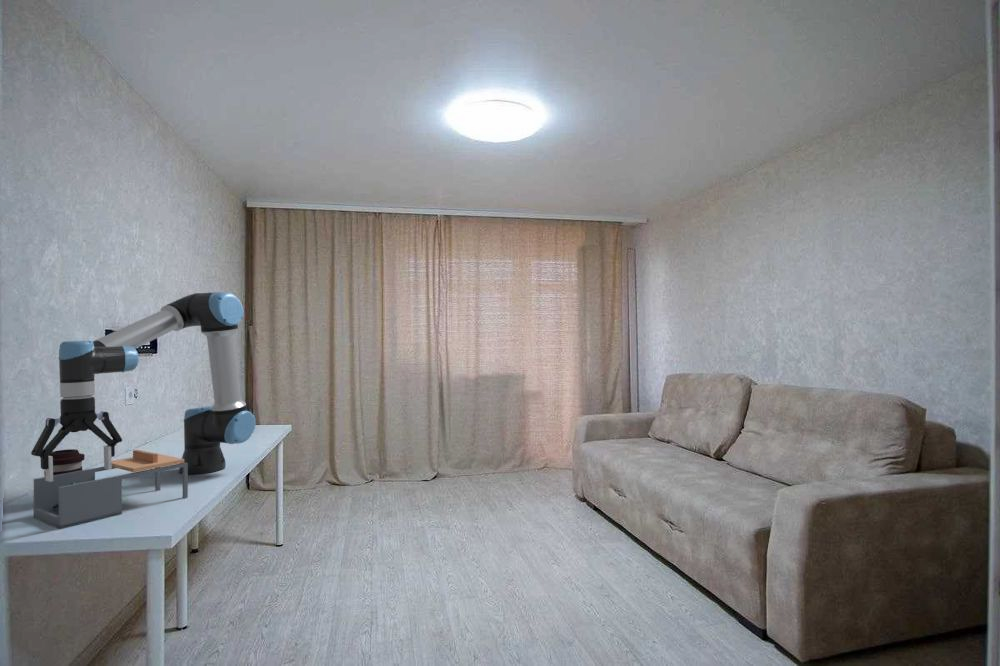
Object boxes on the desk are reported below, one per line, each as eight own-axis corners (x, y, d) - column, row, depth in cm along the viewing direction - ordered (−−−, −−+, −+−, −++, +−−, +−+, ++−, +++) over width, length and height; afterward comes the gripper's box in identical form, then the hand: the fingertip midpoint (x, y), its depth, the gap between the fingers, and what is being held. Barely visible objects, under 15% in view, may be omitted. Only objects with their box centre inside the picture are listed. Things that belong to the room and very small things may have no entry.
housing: (158, 489, 176) (158, 456, 176) (187, 497, 167) (187, 462, 167) (33, 517, 149) (33, 479, 149) (60, 529, 140) (60, 487, 140)
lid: (155, 456, 175) (155, 445, 175) (184, 462, 166) (184, 450, 166) (105, 465, 163) (105, 453, 163) (133, 472, 154) (133, 459, 154)
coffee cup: (42, 501, 164) (42, 450, 164) (84, 495, 170) (84, 446, 170) (40, 509, 156) (40, 456, 156) (84, 502, 162) (84, 451, 162)
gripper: (121, 391, 163) (123, 463, 163) (14, 402, 142) (16, 484, 142) (134, 392, 159) (136, 466, 159) (25, 404, 138) (27, 488, 138)
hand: (79, 474), depth 151 cm, fingers open, 13 cm apart
